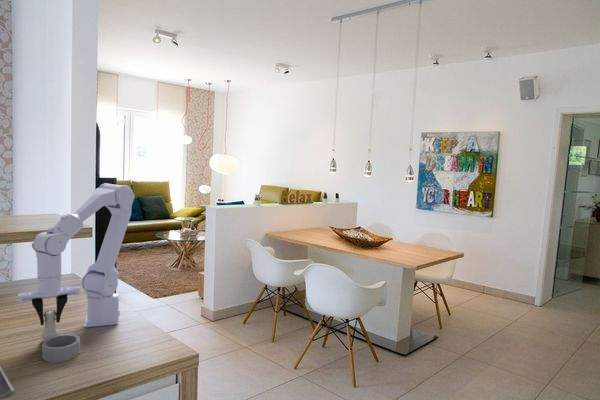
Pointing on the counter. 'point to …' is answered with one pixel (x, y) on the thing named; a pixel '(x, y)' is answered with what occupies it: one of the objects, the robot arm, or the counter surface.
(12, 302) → the counter surface
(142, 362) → the counter surface
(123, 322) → the counter surface
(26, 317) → the counter surface
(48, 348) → the grey faceted bowl
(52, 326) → the rook chess piece
